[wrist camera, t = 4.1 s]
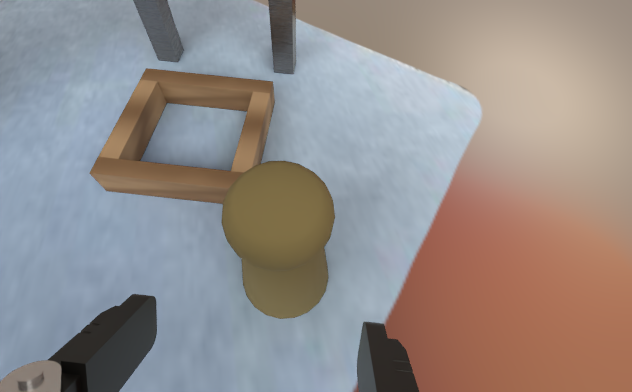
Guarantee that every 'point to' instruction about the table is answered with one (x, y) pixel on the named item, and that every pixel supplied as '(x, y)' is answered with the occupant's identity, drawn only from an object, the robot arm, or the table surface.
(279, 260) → the cork
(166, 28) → the mint green stool
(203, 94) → the socket
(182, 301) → the table surface
